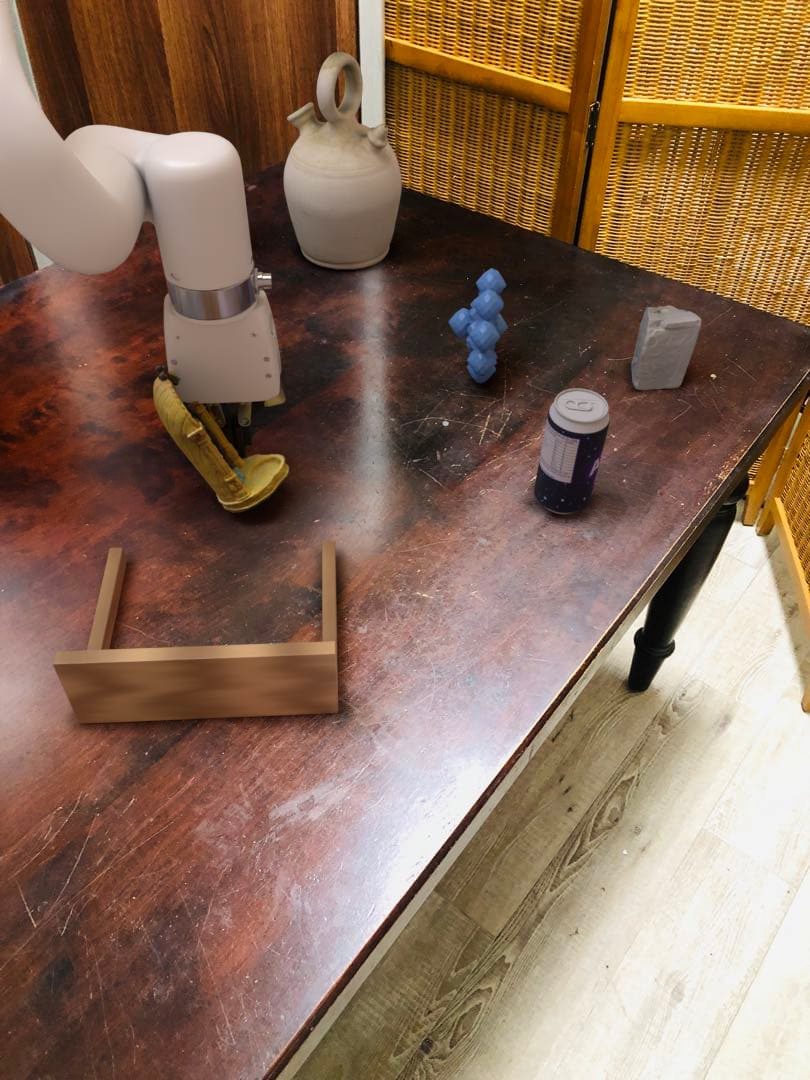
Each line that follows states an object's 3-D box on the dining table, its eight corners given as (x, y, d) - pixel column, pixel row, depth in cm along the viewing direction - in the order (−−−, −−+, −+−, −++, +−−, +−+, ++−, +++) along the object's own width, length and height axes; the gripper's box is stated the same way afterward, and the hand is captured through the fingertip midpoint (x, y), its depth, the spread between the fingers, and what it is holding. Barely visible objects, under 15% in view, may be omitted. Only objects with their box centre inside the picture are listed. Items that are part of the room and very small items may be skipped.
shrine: (166, 520, 85) (133, 395, 74) (189, 464, 91) (160, 340, 80) (283, 529, 85) (267, 405, 74) (298, 472, 90) (285, 348, 79)
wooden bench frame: (79, 724, 69) (52, 664, 64) (114, 562, 81) (94, 499, 75) (338, 713, 71) (335, 653, 65) (335, 555, 82) (333, 493, 77)
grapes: (450, 337, 108) (457, 246, 99) (505, 343, 108) (517, 252, 99) (439, 394, 100) (446, 300, 91) (499, 400, 100) (511, 307, 91)
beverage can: (588, 523, 86) (612, 427, 78) (530, 515, 87) (548, 419, 78) (590, 484, 90) (613, 389, 82) (534, 477, 91) (552, 382, 82)
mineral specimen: (707, 378, 102) (714, 323, 96) (638, 402, 102) (641, 349, 96) (676, 341, 107) (681, 287, 101) (610, 364, 107) (611, 311, 100)
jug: (266, 246, 122) (248, 49, 104) (351, 212, 130) (348, 24, 112) (336, 290, 115) (330, 87, 97) (422, 252, 122) (431, 57, 104)
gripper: (299, 263, 79) (311, 423, 93) (130, 268, 78) (168, 428, 92) (298, 308, 74) (312, 470, 88) (118, 313, 73) (159, 477, 87)
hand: (238, 448), depth 90 cm, fingers closed
